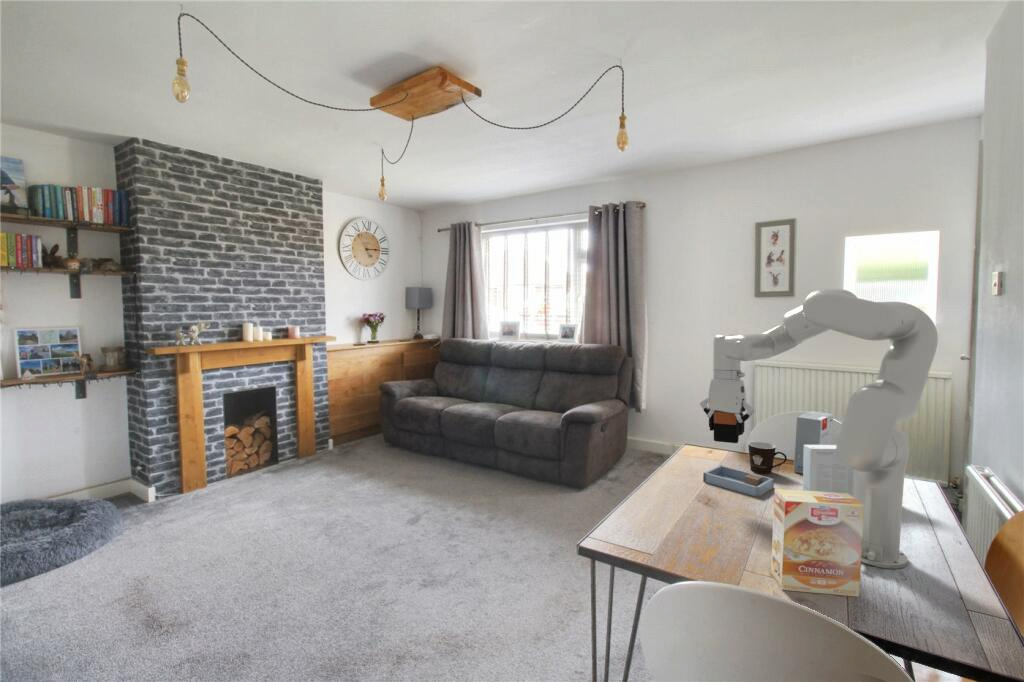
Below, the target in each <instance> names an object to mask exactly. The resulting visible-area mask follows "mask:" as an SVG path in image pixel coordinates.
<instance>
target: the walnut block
mask: <svg viewBox="0 0 1024 682" xmlns="http://www.w3.org/2000/svg"><path fill="white" fill-rule="evenodd" d="M754 474H755V473H753V474H748V475H746V476H745V480H744V483H745V484H749V485H753V486H756V487H757V486H758V485H760V484H762V483H763V477H762V476H763V475H761V476H758V475H759V474H757V475H754Z"/></svg>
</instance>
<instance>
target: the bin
mask: <svg viewBox="0 0 1024 682" xmlns="http://www.w3.org/2000/svg"><path fill="white" fill-rule="evenodd" d="M748 474H754V475H758V476H762V477H763V483H762V484H760V485H758V486H757V487H756V486H753V485H749V484H745V483H744V480H745V476H746V475H748ZM702 475H703V478H702V479H703V480H702V481H703V483H704V482H705V483H708V484H712V485H713V486H717V487H721V488H725V489H727V490H731V491H735V492H738V493H741V494H744V495H748V496H752V497H755V498H760V497H761V496H763V495H764V494H766V493H768V492H769V491H771V490H772V489H774V484H775V479H774V478H772V477H769V476H764V475H762V474H758V473H754V472H753V473H752V472H750V471H749V472H748V471H744V470H742V469H737V468H733V467H729V466H727V465H726V466H725V465H722V464H720V465H718V466H715V467H713V468H711V469H708V470H707V471H704V472H703V474H702Z"/></svg>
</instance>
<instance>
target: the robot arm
mask: <svg viewBox="0 0 1024 682" xmlns="http://www.w3.org/2000/svg"><path fill="white" fill-rule="evenodd" d="M830 330H832V331H835V332H839V333H842V334H844V335H848V336H852V337H854V338H858V339H861V340H862V339H863V340H866V341H873V342H874V341H885V340H886V341H887V340H889V342H890V343H889V346H888V347H887V350H886V352H885V353H884V355H883V357H882V360H881V361H880V362H881V363H880V368H879V371H878V373H877V376H876V378H875V380H874V382H873V383H869V384H866V385H865V384H864V385H863V386H861V387H859V388H857V389H855V391H854V392H853V393H852V395H851V397H850V398H849V400H848V402H847V404H846V408H845V411H844V415H843V418H842V421H841V425H840V426H839V427H840V428H839V432H838V434H837V438H836V442H835V445H836V450H837V454H838V456H839V458H840V460H841V461H842V463H843V464H844V465H846V466H847V467H848V468H850V469H852V470H854V474H853V484H852V496H853V497H854V498H855V499H856V500H858V501H859V502H860V503H861V504H863V505H864V521H863V538H862V554H861V563H863V564H867V565H868V566H869V565H870V566H873V567H877V568H882V569H894V570H895V569H901V568H904V567H906V566H907V565H908V561H909V560H908V557H907V555H906V554H905V553H904V552H903V551H902V550H900V547H901V546H900V545H901V532H902V528H901V527H902V514H903V513H902V512H903V499H904V485H905V475H906V472H907V471H906V470H907V466H908V461H909V456H910V444H909V441H908V440H909V439H907V438H908V437H906V435H905V434H904V432H903V431H901V430H900V429H899V428H898V427H896V424H900V423H903V422H906V421H908V420H910V419H911V418H913V417H914V416H915V415H916V413H917V411H918V408H919V404H920V401H921V398H922V396H923V393H924V389H925V386H926V383H927V380H928V376H929V374H930V370H931V367H932V363H933V361H934V358H935V355H936V352H937V347H938V338H939V337H938V335H939V334H938V331H937V328H936V324H935V323H934V321H933V320H932V318H931V317H930V316H929V315H928V314H927V313H926V312H925V311H923V309H920V307H917V306H915V305H912V304H911V303H907V302H902V301H872V300H868V299H863V298H858V297H857V295H855V294H854V293H853V292H851V291H850V290H848V289H847V290H846V289H842V288H841V289H840V288H836V289H835V288H822V289H817V290H815V291H812V292H811V293H810V294H808V295H807V297H805V298H804V300H803V302H802V305H800V306H797V307H796V308H793V309H792V310H789V311H787V312H786V313H785V314H784V315H783V317H782V323H781V324H780V325H778V326H776V327H774V328H772V329H769V330H768V331H764V332H763V333H751V334H741V335H738V334H733V333H732V334H729V333H724V334H723V333H721V334H717V335H715V336H713V337H714V338H713V357H712V358H713V364H712V366H713V368H712V369H713V370H712V371H713V375H712V376H713V377H712V378H711V380H710V383H709V389H708V397H707V398H706V399H704V400H703V401H701V402H700V403H699V404H700V407H701V408H702V410H703V412H704V413H705V415H707V418H708V427H709V431H713V432H714V412H715V411H720V412H726V413H732V414H735V416H736V418H737V420H738V422H737V423H736V435H738V436H739V437H740V436H742V435H743V434H744V433H745V422H747V420H748V419H749V418H751V417H752V415H753V414H754V413H755V412H756V409H755V408H754V407H752V406H751V405H750V404H749V403H748V402H747V393H746V387H745V382H744V380H743V379H742V378H745V376H746V373H745V372H743V371H742V369H741V361H742V362H749V361H750V362H751V361H758V360H767V359H770V358H773V357H776V356H778V355H780V354H782V353H785V352H788V351H789V350H791V349H794V348H796V347H797V346H799V345H801V344H802V343H804V342H805V341H807V340H809V339H811V338H814V337H816V336H818V335H821V334H824V333H826V332H828V331H830ZM745 412H746V413H745ZM744 413H745V414H744Z"/></svg>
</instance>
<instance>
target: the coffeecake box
mask: <svg viewBox="0 0 1024 682" xmlns="http://www.w3.org/2000/svg"><path fill="white" fill-rule="evenodd" d="M773 494H774V495H773V496H774V497H773V519H772V538H771V539H772V540H771V558H770V559H771V560H770V562H771V563H770V564H771V565H770V573H771V574H772V576H773V578H774V580H775V581H776V583H777V584H778V586H779V588H780V590H782V591H790V592H802V593H803V592H804V593H812V594H814V593H815V594H823V595H824V594H825V595H833V596H845V597H846V596H848V597H857V598H858V597H860V587H861V586H860V585H861V571H862V569H861V568H862V567H861V566H862V562H861V554H862V538H863V521H864V505H863V504H861V503H860V502H859V501H858V500H856V499H855V498H854V497H853V496H851V495H850V494H849V493H835V492H819V491H803V489H802V490H801V489H800V490H797V489H786V488H785V489H784V488H774V493H773Z"/></svg>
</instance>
